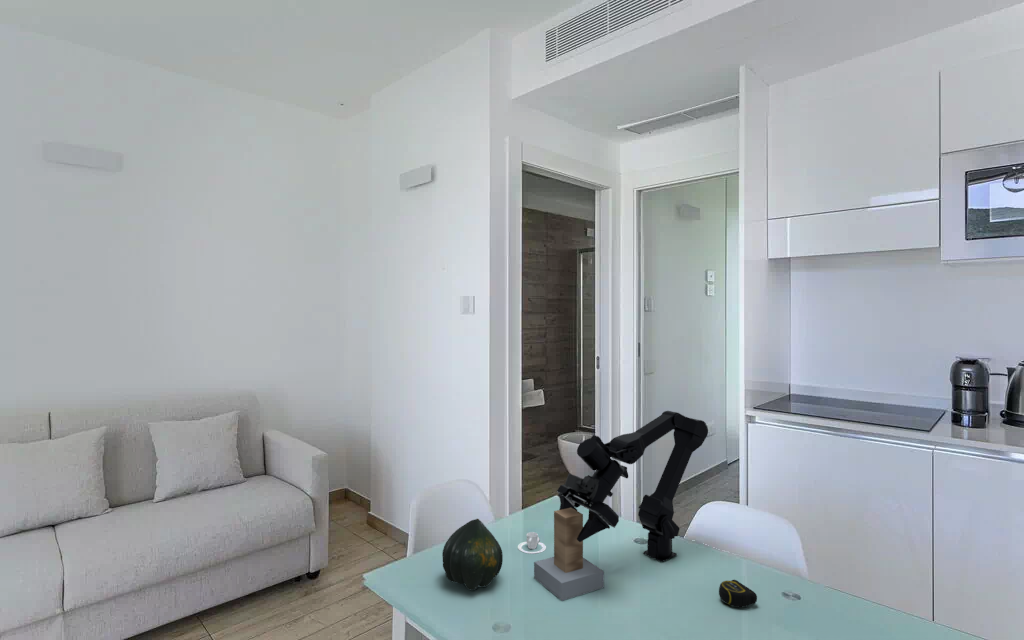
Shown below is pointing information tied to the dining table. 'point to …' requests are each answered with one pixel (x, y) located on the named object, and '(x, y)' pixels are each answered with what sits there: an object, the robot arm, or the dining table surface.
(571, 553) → the walnut pillar
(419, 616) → the dining table surface
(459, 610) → the dining table surface
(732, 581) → the tape measure
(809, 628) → the dining table surface
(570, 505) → the robot arm
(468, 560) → the squash
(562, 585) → the grey base block
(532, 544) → the teacup and saucer
